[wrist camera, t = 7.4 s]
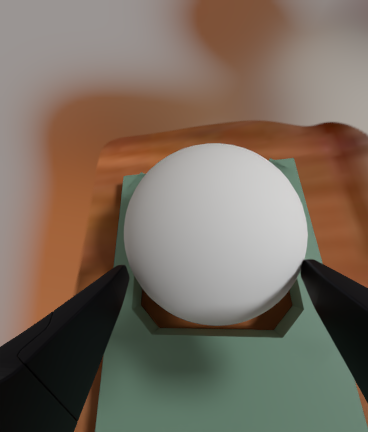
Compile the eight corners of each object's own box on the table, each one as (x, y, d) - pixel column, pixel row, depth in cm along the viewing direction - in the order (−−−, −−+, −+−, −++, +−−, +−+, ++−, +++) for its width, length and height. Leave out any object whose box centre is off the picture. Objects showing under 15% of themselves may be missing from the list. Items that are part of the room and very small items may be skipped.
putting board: (424, 731, 8) (487, 865, 6) (89, 636, 11) (63, 712, 9) (284, 168, 19) (293, 155, 17) (131, 183, 21) (123, 173, 19)
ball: (424, 107, 5) (265, 143, 15) (40, 146, 6) (140, 154, 16) (346, 381, 8) (259, 255, 18) (112, 381, 9) (156, 260, 19)
